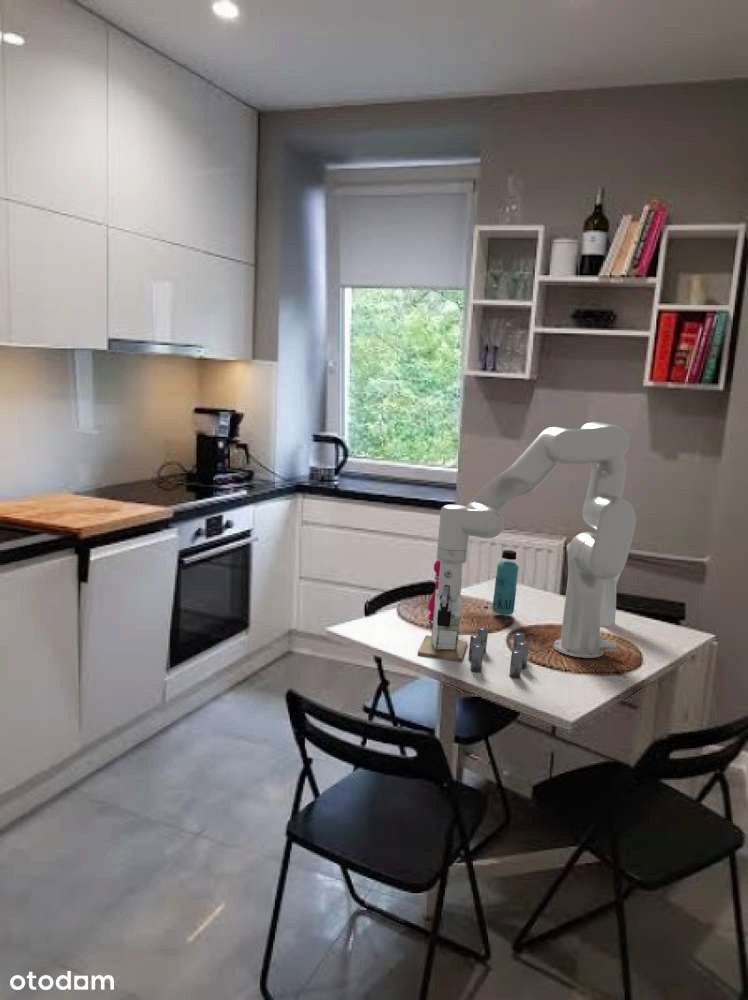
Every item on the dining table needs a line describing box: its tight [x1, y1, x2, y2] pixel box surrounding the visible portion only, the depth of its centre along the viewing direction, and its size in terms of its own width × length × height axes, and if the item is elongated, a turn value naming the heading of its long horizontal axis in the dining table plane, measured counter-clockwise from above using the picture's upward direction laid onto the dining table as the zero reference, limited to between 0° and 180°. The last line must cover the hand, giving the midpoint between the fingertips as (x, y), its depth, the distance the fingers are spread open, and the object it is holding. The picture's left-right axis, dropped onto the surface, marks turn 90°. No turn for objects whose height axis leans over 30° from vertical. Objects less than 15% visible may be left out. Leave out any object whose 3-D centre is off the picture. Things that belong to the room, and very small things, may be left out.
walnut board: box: [417, 635, 468, 662], centre depth 192 cm, size 11×13×1 cm
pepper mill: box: [427, 559, 441, 621], centre depth 213 cm, size 7×7×20 cm
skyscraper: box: [600, 572, 622, 628], centre depth 222 cm, size 8×8×28 cm
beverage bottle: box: [491, 549, 520, 616], centre depth 222 cm, size 6×7×20 cm
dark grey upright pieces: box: [468, 626, 530, 679], centre depth 185 cm, size 14×16×6 cm
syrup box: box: [430, 589, 463, 650], centre depth 191 cm, size 6×6×14 cm
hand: (445, 620), depth 191 cm, fingers open, 9 cm apart
